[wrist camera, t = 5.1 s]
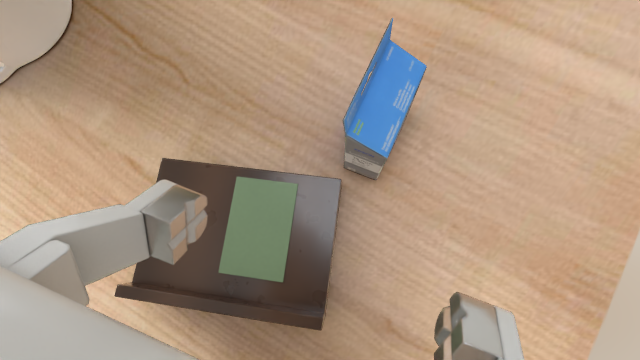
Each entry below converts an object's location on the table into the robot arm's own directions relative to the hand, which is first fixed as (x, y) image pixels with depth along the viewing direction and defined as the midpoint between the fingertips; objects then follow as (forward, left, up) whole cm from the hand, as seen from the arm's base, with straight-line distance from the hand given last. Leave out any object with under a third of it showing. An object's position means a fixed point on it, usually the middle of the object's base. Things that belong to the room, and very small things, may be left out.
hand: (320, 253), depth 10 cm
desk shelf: (-9, 0, -22) cm, 24 cm away
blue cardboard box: (+3, +12, -23) cm, 26 cm away
